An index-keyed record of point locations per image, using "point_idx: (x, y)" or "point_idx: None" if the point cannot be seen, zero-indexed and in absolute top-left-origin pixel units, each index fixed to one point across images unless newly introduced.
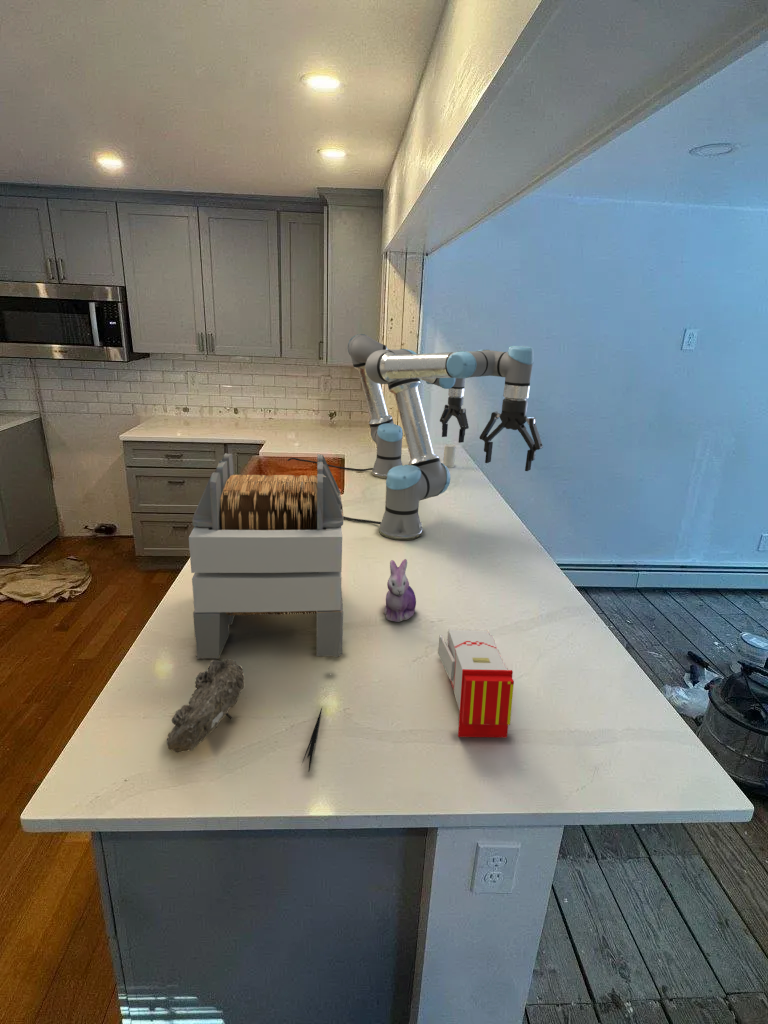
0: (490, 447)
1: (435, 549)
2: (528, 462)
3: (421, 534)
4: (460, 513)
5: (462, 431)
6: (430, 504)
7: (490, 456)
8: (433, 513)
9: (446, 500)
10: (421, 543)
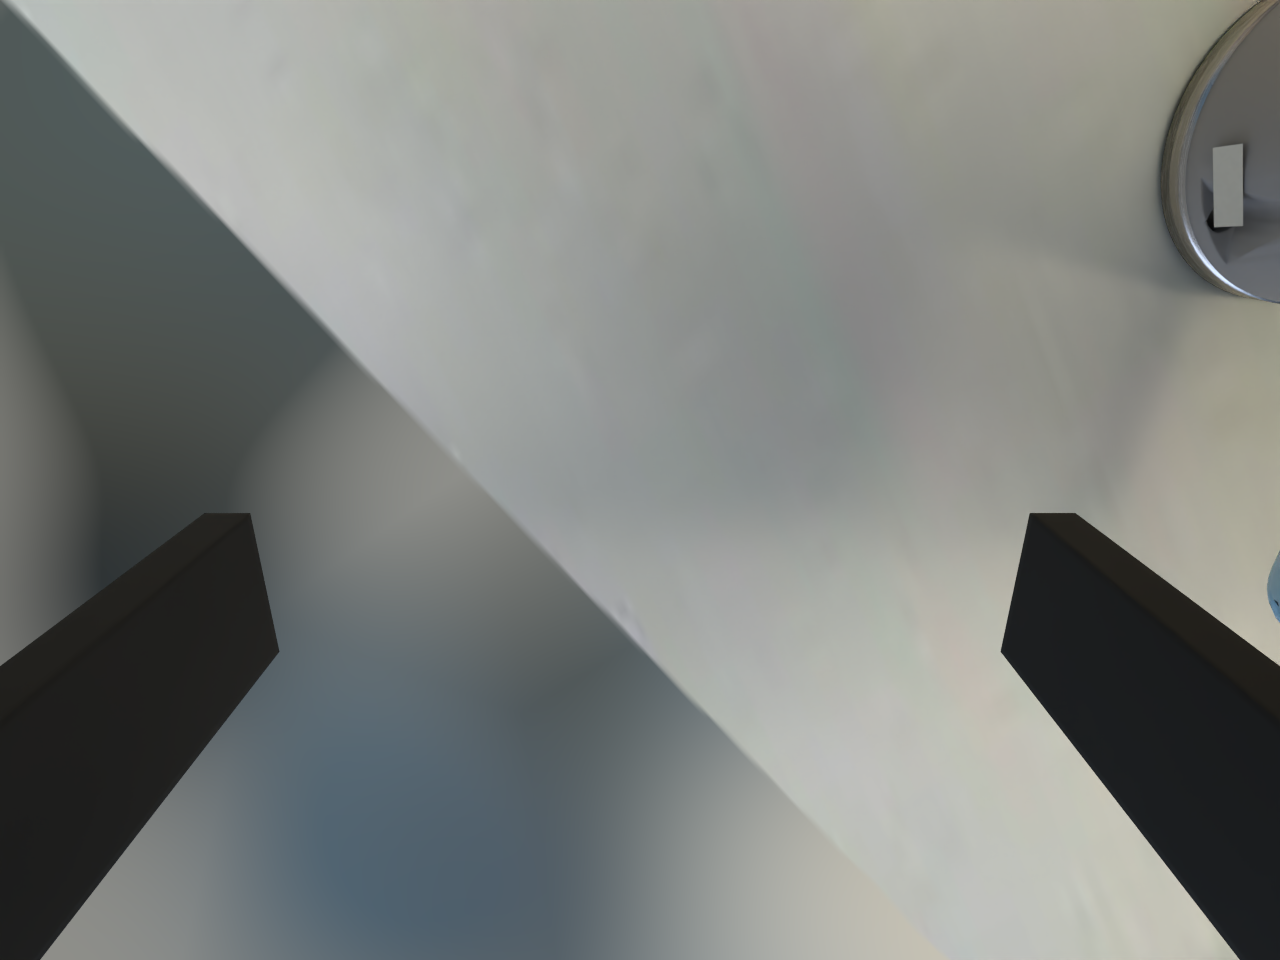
0: (1230, 807)
1: (983, 31)
2: (92, 611)
3: (1162, 197)
4: None
5: None
6: None
7: (1063, 684)
8: (1202, 588)
9: None
10: (1110, 61)
